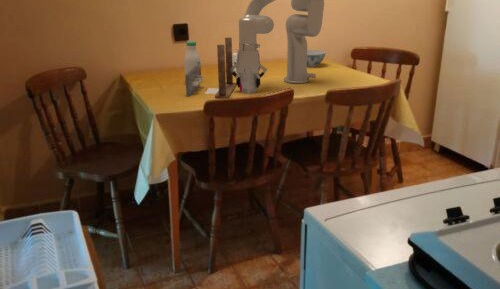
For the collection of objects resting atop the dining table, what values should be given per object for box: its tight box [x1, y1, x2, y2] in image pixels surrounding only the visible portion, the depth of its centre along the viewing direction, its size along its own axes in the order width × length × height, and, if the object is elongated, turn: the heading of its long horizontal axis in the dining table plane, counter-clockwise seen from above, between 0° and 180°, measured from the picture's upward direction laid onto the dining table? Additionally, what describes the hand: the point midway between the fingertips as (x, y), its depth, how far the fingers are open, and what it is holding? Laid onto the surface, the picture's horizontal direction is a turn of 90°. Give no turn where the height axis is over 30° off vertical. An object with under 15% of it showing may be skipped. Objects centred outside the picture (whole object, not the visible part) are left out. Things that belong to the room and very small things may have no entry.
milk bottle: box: [183, 40, 202, 82], centre depth 216 cm, size 8×8×20 cm
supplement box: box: [239, 69, 258, 95], centre depth 199 cm, size 6×6×12 cm
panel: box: [184, 66, 204, 98], centre depth 202 cm, size 4×20×10 cm, turn 174°
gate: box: [214, 37, 237, 99], centre depth 198 cm, size 6×24×22 cm, turn 174°
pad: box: [204, 87, 219, 95], centre depth 202 cm, size 10×10×1 cm
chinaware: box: [307, 49, 326, 68], centre depth 254 cm, size 15×15×8 cm
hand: (248, 86), depth 200 cm, fingers closed on supplement box, 7 cm apart
